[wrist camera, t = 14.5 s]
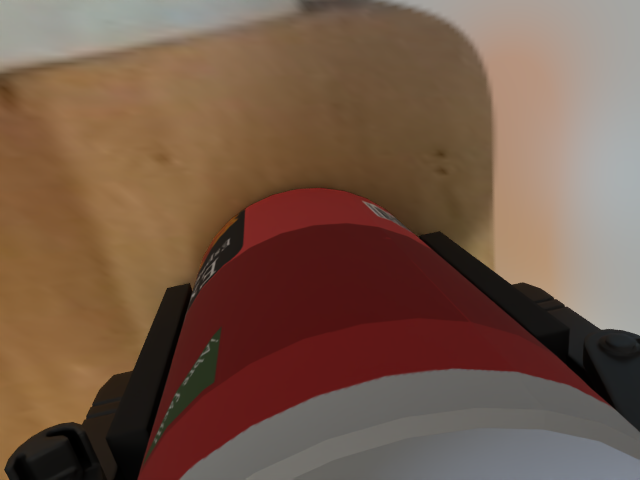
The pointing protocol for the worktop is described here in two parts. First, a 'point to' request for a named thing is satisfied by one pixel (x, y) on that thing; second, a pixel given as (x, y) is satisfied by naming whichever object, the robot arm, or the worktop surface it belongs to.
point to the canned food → (365, 364)
